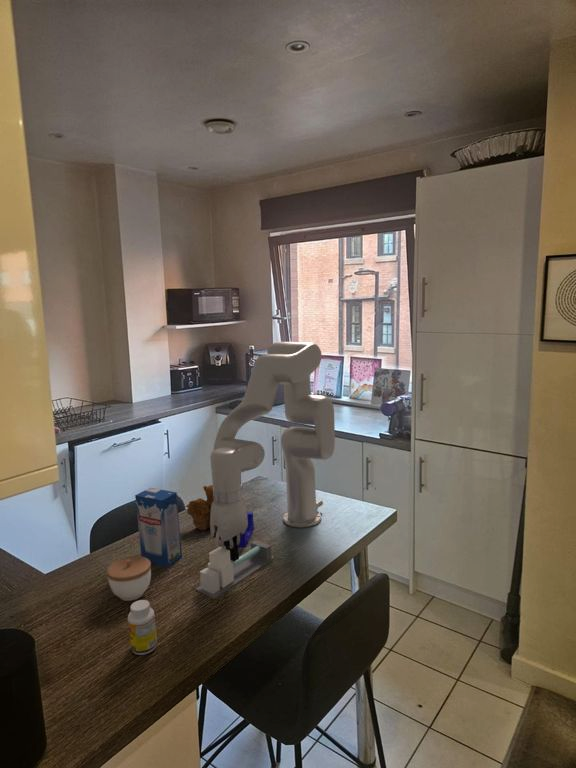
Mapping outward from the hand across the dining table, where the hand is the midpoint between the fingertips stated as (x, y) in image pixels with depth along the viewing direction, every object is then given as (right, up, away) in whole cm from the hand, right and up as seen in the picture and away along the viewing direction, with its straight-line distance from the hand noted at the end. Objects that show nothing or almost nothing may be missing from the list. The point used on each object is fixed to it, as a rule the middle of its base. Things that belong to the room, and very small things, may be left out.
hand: (232, 558), depth 139 cm
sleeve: (-3, -5, -3) cm, 6 cm away
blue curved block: (+1, -1, +22) cm, 22 cm away
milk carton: (-22, -4, +12) cm, 25 cm away
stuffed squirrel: (-11, 0, +32) cm, 34 cm away
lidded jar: (-25, -7, -6) cm, 27 cm away
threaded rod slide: (+1, -5, +2) cm, 5 cm away
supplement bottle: (-16, -11, -26) cm, 33 cm away
